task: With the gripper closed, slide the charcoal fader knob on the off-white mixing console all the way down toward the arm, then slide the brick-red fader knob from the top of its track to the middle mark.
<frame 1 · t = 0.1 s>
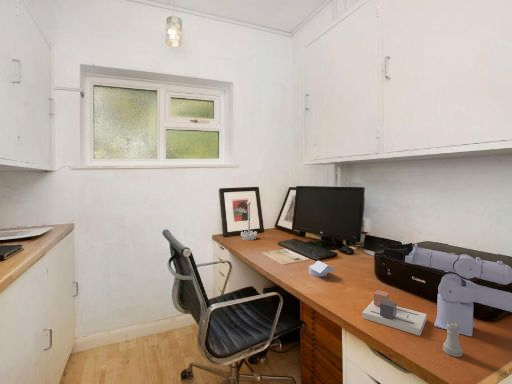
hand: (386, 249, 99), 22 cm above the table, tool horizontal, fingers open, 7 cm apart
fader console: (394, 318, 92), on the table
flag stand: (249, 239, 221), on the table
charcoal fader: (388, 309, 90), point 4 cm above the table, slide at 1.0 cm
rook chess piece: (452, 353, 74), on the table
brick fader: (381, 298, 98), point 4 cm above the table, slide at 5.0 cm
wedge on round base: (320, 275, 136), on the table
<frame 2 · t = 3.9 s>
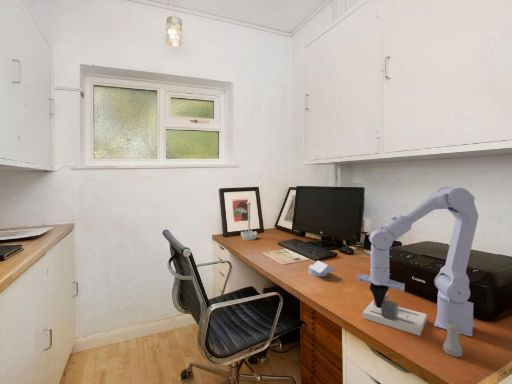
hand: (379, 306, 92), 4 cm above the table, tool pointing down, fingers closed
charcoal fader: (389, 309, 89), point 4 cm above the table, slide at 0.6 cm, touching gripper
everything else where it was.
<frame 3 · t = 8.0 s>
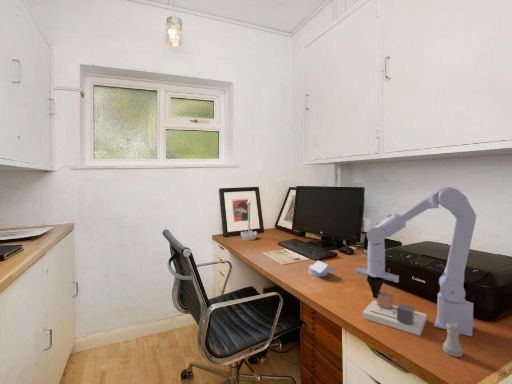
hand: (375, 297, 99), 4 cm above the table, tool pointing down, fingers closed
charcoal fader: (405, 313, 87), point 4 cm above the table, slide at -4.0 cm
brick fader: (385, 299, 97), point 4 cm above the table, slide at 3.7 cm, touching gripper
everything else where it was.
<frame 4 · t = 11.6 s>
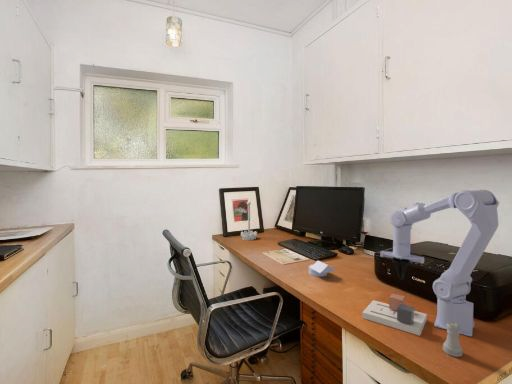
hand: (401, 278, 103), 9 cm above the table, tool pointing down, fingers closed
brick fader: (397, 302, 94), point 4 cm above the table, slide at -0.1 cm
everything else where it was.
at the end: charcoal fader slide at -4.0 cm; brick fader slide at -0.1 cm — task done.
